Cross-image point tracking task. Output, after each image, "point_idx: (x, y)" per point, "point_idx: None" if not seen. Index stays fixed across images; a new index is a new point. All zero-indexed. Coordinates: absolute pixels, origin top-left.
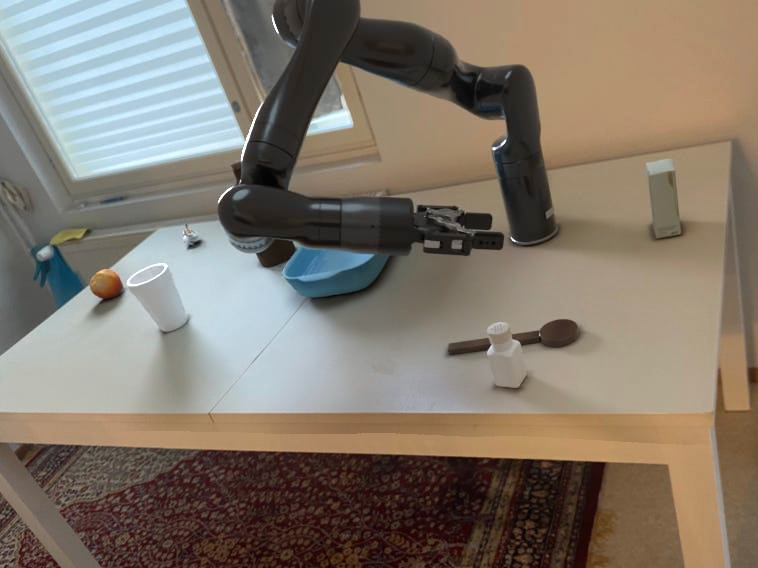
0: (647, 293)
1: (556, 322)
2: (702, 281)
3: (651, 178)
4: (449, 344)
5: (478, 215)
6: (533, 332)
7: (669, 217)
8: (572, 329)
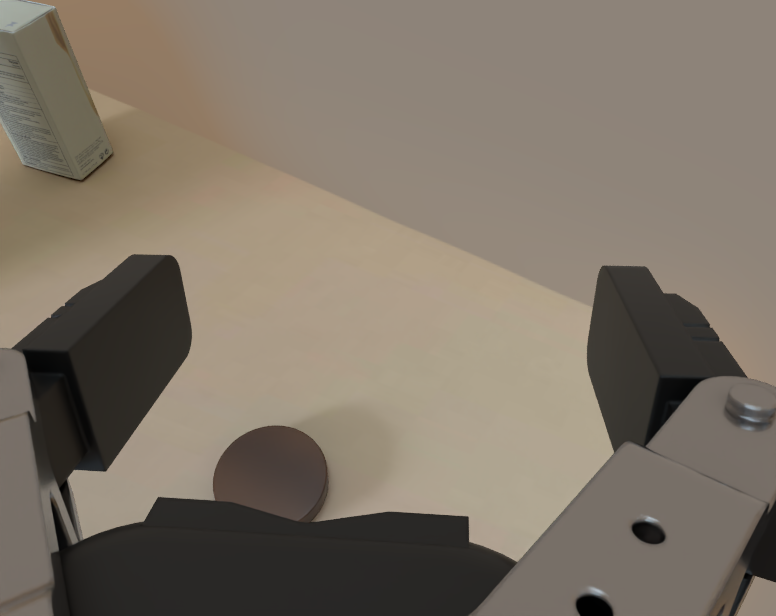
0: (257, 270)
1: (231, 465)
2: (297, 196)
3: (20, 40)
4: None
5: (125, 305)
6: None
7: (86, 124)
8: (297, 443)
